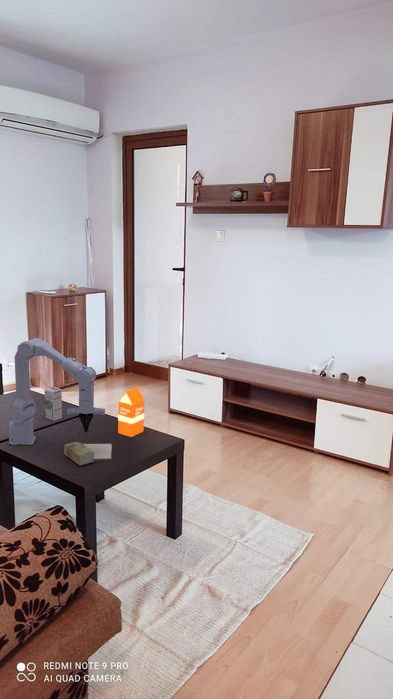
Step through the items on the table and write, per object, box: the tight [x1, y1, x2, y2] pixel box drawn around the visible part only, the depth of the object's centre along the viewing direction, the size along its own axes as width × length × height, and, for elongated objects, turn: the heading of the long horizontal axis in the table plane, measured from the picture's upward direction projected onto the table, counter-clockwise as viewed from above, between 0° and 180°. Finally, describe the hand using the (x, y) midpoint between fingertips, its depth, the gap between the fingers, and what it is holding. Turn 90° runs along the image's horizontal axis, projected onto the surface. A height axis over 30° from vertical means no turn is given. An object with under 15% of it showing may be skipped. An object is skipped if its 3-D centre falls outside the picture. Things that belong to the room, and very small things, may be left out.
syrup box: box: [44, 386, 63, 422], centre depth 236 cm, size 6×6×14 cm
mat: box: [82, 443, 113, 460], centre depth 204 cm, size 14×14×1 cm
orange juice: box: [117, 387, 145, 438], centre depth 224 cm, size 8×9×20 cm
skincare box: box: [63, 441, 95, 467], centre depth 196 cm, size 6×4×12 cm
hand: (86, 431), depth 202 cm, fingers closed
